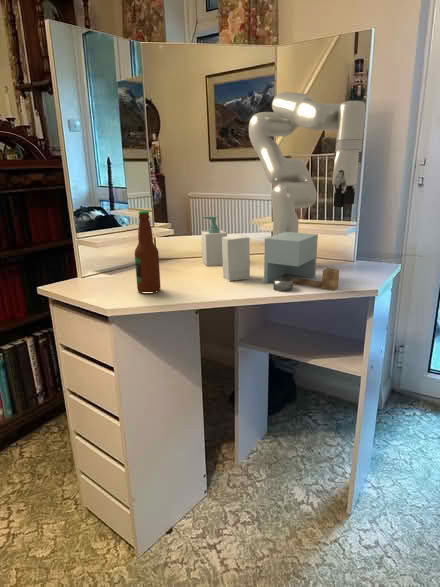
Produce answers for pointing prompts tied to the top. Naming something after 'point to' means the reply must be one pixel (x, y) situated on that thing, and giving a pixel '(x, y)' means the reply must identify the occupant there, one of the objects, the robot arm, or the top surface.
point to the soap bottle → (212, 244)
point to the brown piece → (327, 283)
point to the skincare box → (236, 257)
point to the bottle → (146, 257)
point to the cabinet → (290, 255)
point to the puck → (283, 284)
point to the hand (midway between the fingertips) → (343, 205)
